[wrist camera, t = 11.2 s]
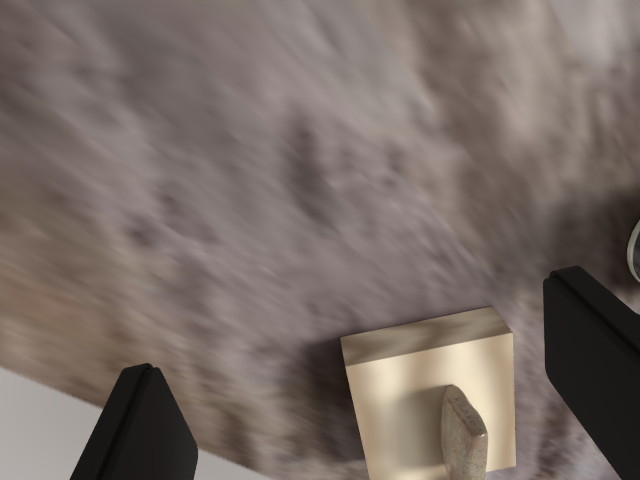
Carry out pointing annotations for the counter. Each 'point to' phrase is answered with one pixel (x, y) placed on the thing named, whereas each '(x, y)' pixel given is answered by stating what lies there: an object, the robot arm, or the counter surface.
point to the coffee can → (634, 252)
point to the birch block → (430, 390)
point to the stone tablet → (462, 437)
